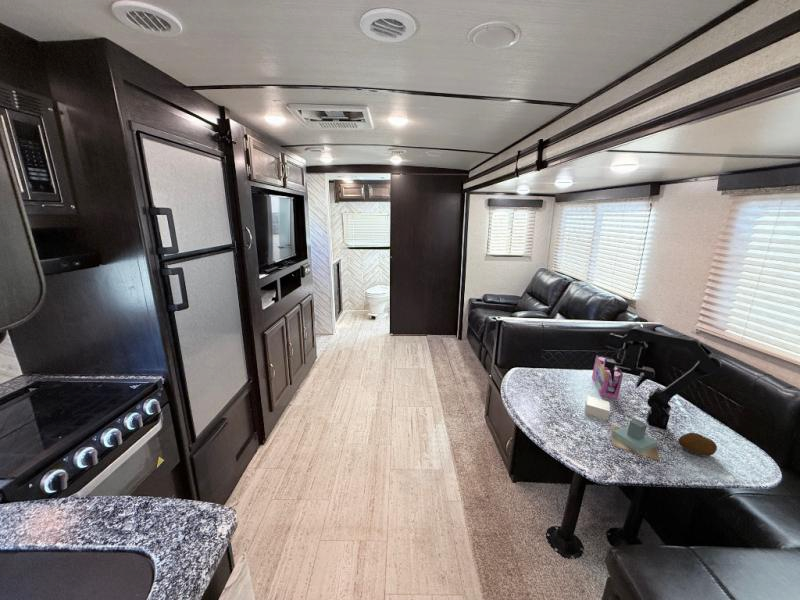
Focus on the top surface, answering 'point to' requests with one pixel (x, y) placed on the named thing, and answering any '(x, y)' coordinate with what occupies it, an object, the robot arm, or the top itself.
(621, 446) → the cork mat
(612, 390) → the gum box
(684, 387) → the robot arm
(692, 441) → the potato
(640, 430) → the lid
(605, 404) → the box
